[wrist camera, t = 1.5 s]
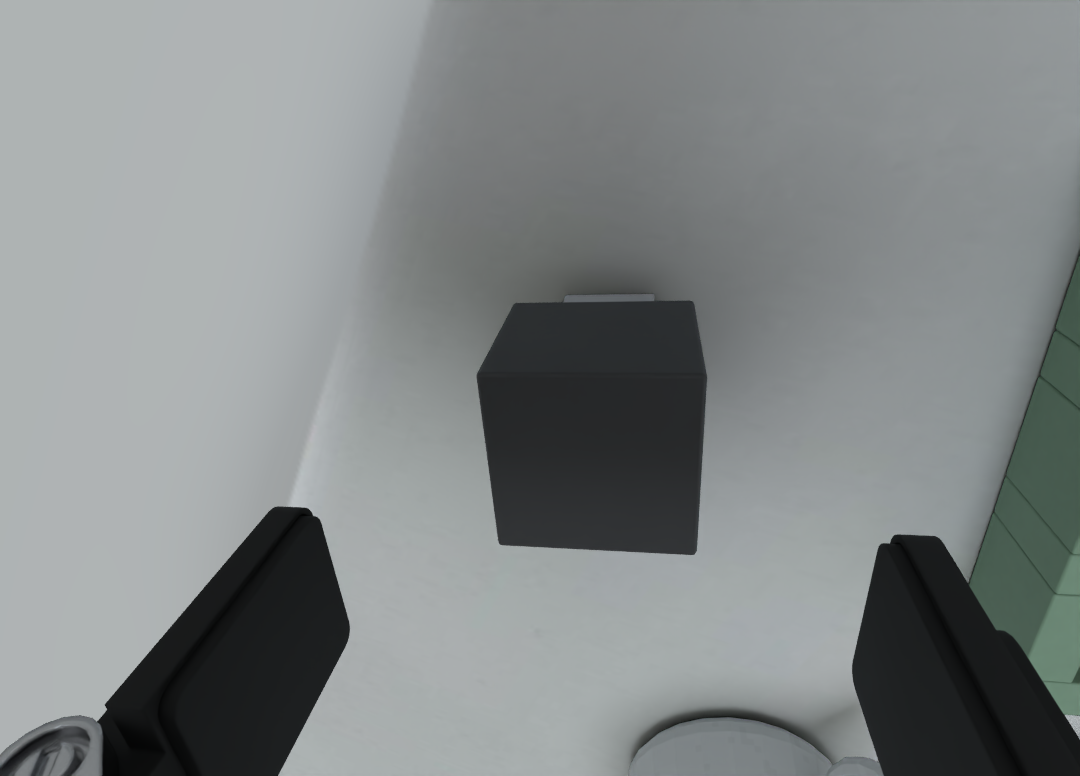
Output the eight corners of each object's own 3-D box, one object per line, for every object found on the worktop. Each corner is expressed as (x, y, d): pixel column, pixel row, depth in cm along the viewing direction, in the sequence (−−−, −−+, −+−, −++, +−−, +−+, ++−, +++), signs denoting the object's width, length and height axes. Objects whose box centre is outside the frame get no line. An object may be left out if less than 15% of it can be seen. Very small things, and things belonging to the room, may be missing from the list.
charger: (532, 265, 18) (474, 373, 12) (687, 261, 18) (707, 375, 12) (543, 397, 20) (497, 546, 14) (681, 399, 20) (696, 557, 14)
